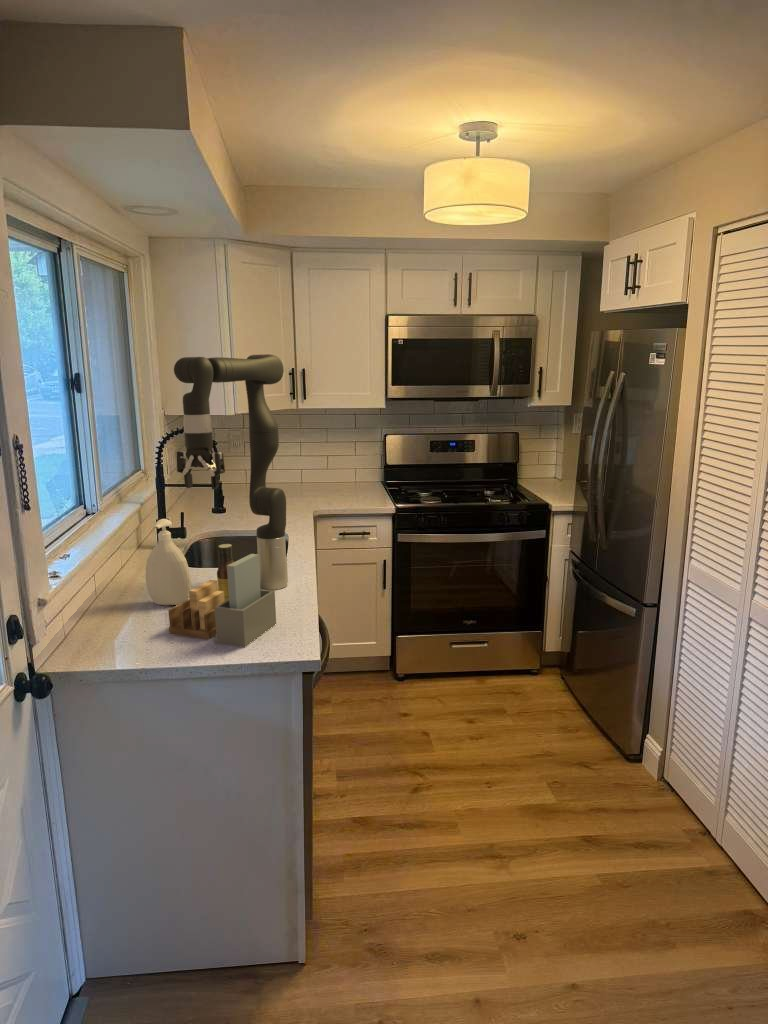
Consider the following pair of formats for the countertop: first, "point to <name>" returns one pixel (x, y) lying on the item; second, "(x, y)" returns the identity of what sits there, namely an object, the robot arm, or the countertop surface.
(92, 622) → the countertop surface
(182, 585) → the soap bottle
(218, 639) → the bin
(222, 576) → the sauce bottle
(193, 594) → the oak offcut
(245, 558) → the tall sheet
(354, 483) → the countertop surface
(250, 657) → the countertop surface
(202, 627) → the beech offcut
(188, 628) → the rack
